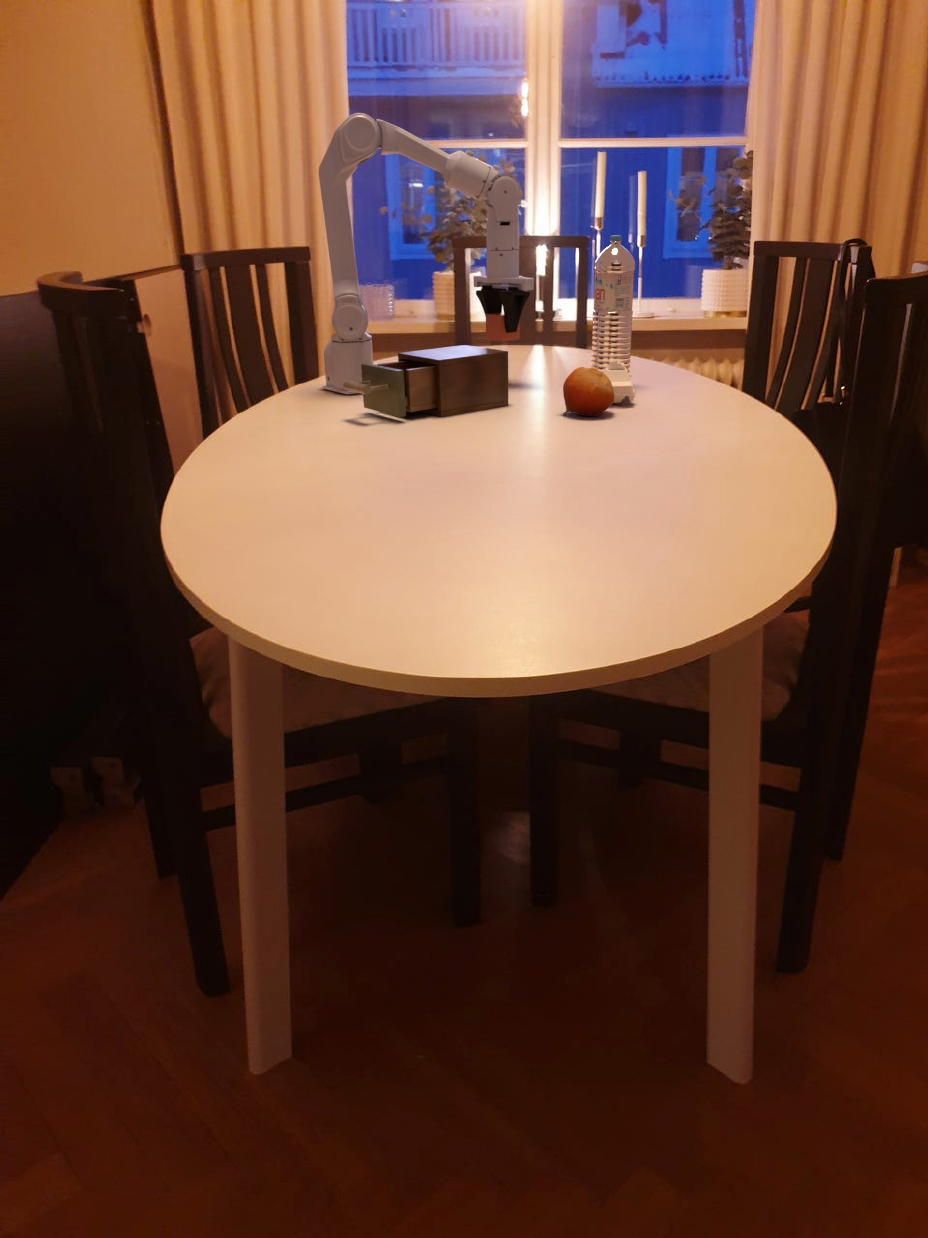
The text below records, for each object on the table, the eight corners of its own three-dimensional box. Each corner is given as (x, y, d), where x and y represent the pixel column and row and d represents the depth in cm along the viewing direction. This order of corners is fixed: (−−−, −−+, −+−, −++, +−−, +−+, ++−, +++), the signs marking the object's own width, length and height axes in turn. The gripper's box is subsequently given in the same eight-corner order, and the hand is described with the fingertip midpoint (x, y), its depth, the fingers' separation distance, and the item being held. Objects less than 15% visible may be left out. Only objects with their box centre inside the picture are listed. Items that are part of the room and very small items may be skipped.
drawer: (373, 421, 134) (370, 374, 131) (338, 411, 141) (334, 367, 139) (465, 406, 143) (464, 362, 140) (427, 397, 151) (426, 355, 148)
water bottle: (590, 383, 165) (595, 235, 155) (628, 383, 164) (635, 234, 154) (590, 390, 159) (595, 236, 148) (629, 390, 158) (637, 235, 148)
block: (485, 339, 164) (485, 313, 162) (504, 337, 166) (504, 312, 165) (501, 341, 161) (501, 315, 159) (519, 339, 163) (520, 313, 161)
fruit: (561, 397, 144) (587, 354, 140) (601, 426, 143) (628, 383, 139) (543, 406, 138) (569, 362, 133) (584, 436, 137) (612, 392, 132)
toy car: (630, 394, 154) (632, 353, 151) (636, 407, 143) (638, 363, 141) (594, 394, 155) (596, 353, 152) (598, 407, 144) (599, 364, 141)
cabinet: (441, 416, 140) (439, 359, 137) (400, 406, 149) (397, 352, 145) (508, 405, 148) (508, 351, 144) (465, 396, 156) (464, 344, 153)
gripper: (547, 249, 154) (546, 332, 160) (494, 248, 165) (494, 326, 170) (516, 251, 150) (515, 335, 156) (463, 250, 161) (465, 329, 167)
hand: (502, 331), depth 163 cm, fingers closed on block, 4 cm apart
